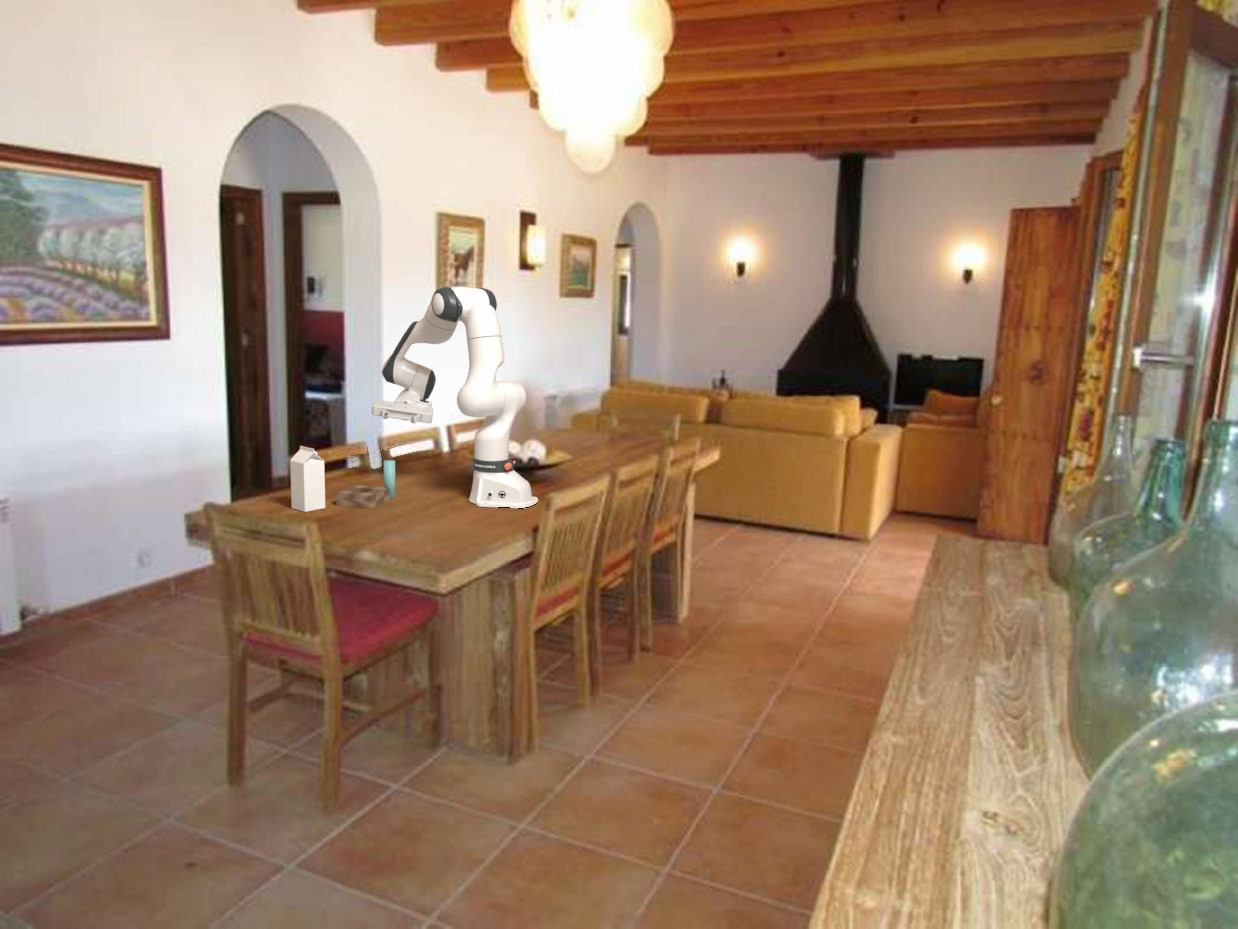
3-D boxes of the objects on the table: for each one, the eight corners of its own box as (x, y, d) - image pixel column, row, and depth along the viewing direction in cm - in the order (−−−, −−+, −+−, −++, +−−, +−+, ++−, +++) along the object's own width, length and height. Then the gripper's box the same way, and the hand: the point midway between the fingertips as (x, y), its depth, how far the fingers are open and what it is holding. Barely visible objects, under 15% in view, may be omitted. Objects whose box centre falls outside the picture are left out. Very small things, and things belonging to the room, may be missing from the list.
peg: (397, 496, 286) (397, 460, 284) (392, 498, 283) (391, 462, 281) (387, 495, 287) (387, 459, 285) (381, 497, 284) (381, 461, 281)
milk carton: (305, 512, 261) (303, 450, 258) (291, 508, 266) (289, 447, 262) (325, 508, 267) (324, 447, 263) (312, 504, 271) (310, 444, 268)
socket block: (389, 500, 281) (389, 488, 280) (370, 508, 269) (370, 496, 269) (355, 496, 283) (355, 484, 283) (335, 504, 272) (335, 492, 271)
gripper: (376, 394, 301) (368, 405, 288) (436, 402, 304) (430, 414, 291) (375, 411, 304) (366, 423, 291) (434, 420, 306) (428, 432, 293)
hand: (398, 418), depth 291 cm, fingers open, 8 cm apart
